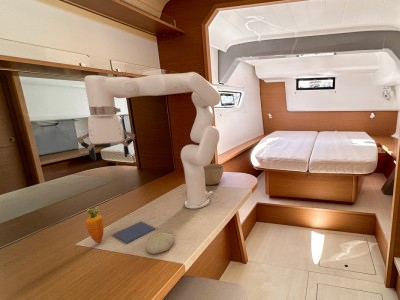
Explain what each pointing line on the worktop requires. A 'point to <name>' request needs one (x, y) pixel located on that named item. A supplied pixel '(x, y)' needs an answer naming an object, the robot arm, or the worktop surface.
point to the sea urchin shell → (159, 243)
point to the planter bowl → (213, 173)
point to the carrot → (95, 225)
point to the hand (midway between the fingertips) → (110, 158)
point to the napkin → (134, 232)
